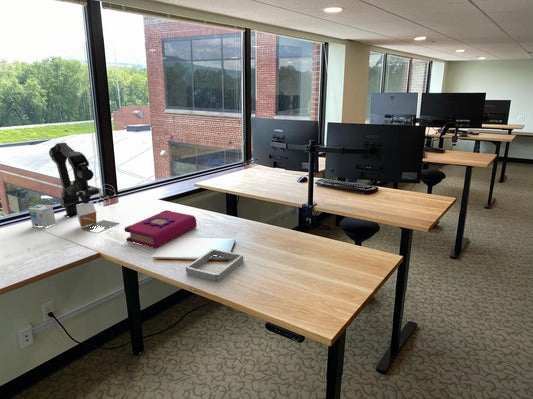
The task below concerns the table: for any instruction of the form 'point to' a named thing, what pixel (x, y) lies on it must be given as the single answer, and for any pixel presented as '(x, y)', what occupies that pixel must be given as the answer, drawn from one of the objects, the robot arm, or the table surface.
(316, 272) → the table surface
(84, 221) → the small box
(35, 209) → the light bulb box
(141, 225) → the book
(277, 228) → the table surface
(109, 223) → the mat
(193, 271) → the frame
